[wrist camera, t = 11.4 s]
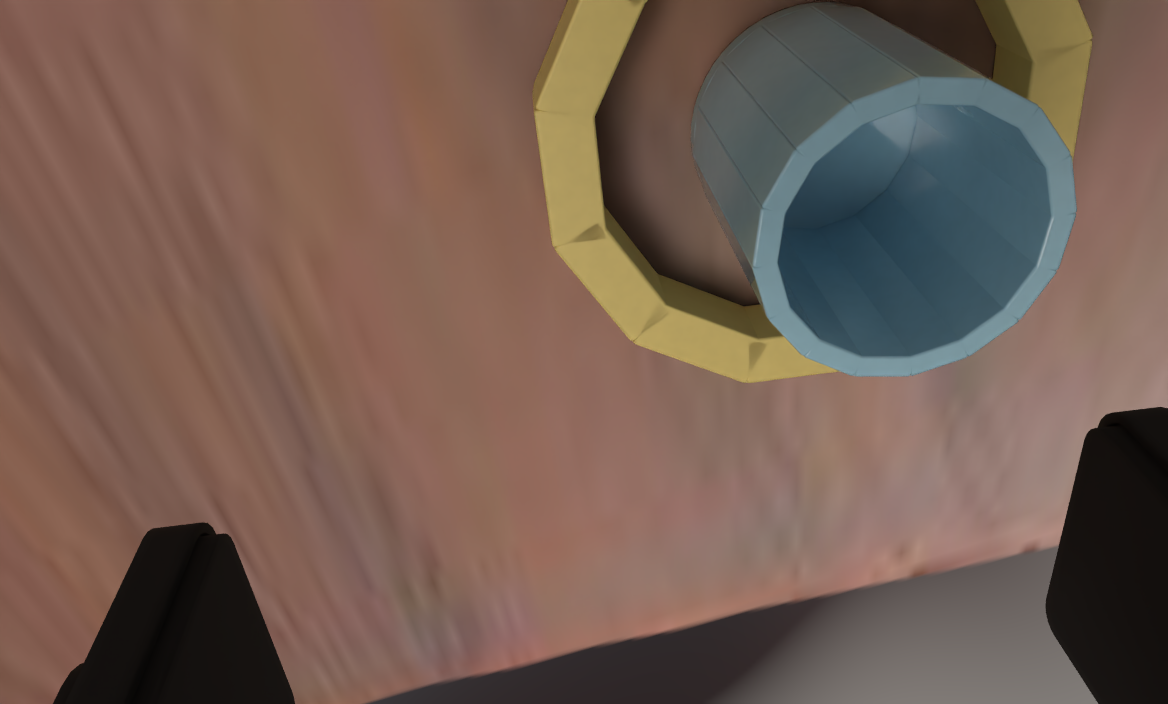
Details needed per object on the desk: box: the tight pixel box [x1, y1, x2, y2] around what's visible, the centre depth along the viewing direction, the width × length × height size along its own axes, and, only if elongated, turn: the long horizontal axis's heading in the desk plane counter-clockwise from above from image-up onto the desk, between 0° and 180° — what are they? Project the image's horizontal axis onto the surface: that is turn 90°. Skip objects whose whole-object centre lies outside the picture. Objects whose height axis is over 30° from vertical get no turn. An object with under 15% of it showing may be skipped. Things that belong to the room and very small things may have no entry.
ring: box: [532, 0, 1093, 383], centre depth 23 cm, size 13×13×2 cm
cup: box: [691, 2, 1077, 376], centre depth 21 cm, size 6×6×8 cm
